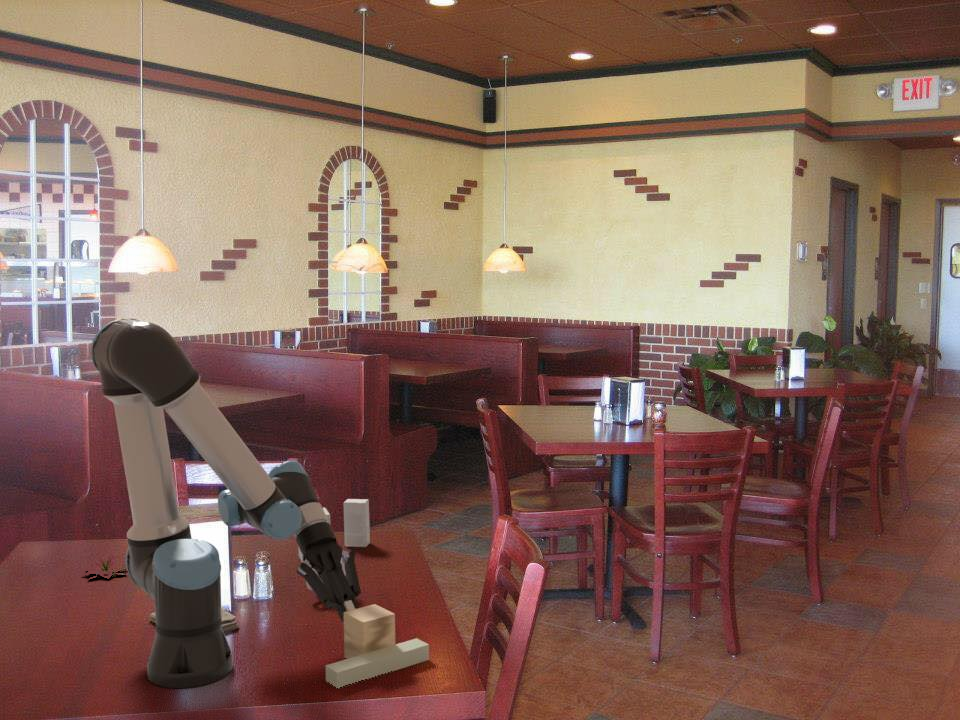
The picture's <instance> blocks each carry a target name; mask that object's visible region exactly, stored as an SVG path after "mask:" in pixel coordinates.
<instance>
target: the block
mask: <svg viewBox="0 0 960 720" xmlns="http://www.w3.org/2000/svg"><path fill="white" fill-rule="evenodd" d="M343 644H344V645H343V646H344V647H343V650H344V653H343V654H344V655H343V657H345V658H347V659H349V658H352V657H355V656H359V655H362V654H365V653H369V652H372V651H375V650H379V649H382V648H386V647H389V646H392V645H396V614H395V613H394V612H392V611H390V610H388V609H386V608H384V607H381V606H380V605H377V604H375V603H374V604H370V605H366V606H362V607H358V609H354V610H350V611H346V612H344V622H343ZM345 658H344V659H345Z"/></svg>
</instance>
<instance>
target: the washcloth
mask: <svg viewBox="0 0 960 720" xmlns="http://www.w3.org/2000/svg"><path fill="white" fill-rule="evenodd" d="M221 618H222V629H223V631H224V634H225V633H228V632H231V631H234V630H236V629H238V628H239V627H240V625H239V624H238V622H237V620H236V618H237V617H236V616H235V615H233V614H231V613H230V612H229V611H228V609H227V608H224V607H221ZM150 620H151V621H153V622H154V623H156V621H155V611H154V612H152V613H150V614H149V617H148V621H150ZM151 621H150V622H151ZM153 622H152V623H153ZM154 623H153V624H154Z"/></svg>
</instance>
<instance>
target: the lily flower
mask: <svg viewBox="0 0 960 720" xmlns="http://www.w3.org/2000/svg"><path fill="white" fill-rule="evenodd" d="M112 556H113V555H110V556H109V558H108V560H107V561H106V562H104V561H103V559H101V558H100V557H99V556H97V559H98V560H99V561H100V562H98V563H95V565H96V566H98V568H99V567H100V568H101V567H104V569H103V568H101V569H102V571H104V570H105V571H107V570H109V569H108V568H110V567H108V566H113V565H114V564H115V562H112V561H113V560H114V559H115V558H116V556H114V557H112ZM119 568H125V567H124V566H123V567H119ZM121 572H123V570H122V571H121ZM113 576H115V573H113Z"/></svg>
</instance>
